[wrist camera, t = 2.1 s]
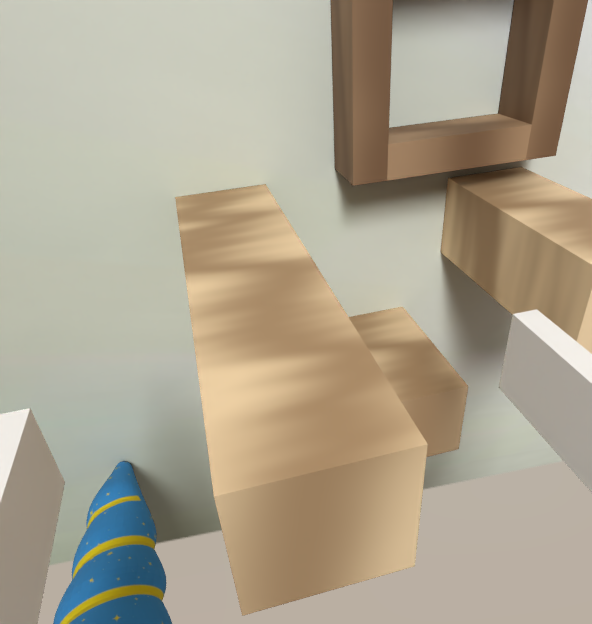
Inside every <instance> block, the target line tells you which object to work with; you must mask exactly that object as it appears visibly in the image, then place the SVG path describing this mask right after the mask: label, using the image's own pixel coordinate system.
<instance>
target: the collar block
mask: <svg viewBox="0 0 592 624" xmlns="http://www.w3.org/2000/svg"><path fill="white" fill-rule="evenodd" d="M587 3H588V0H514V7H513V14H512V21H511V28H510V35H509V42H508V49H507V56H506V63H505V70H504V77H503V84H502V91H501V98H500V105H499V112H498V114H492V115H484V116H476V117H469V118H461V119H453V120H446V121H438V122H430V123H423V124H415V125H407V126H400V127H392V128H389V108H390V76H391V45H392V14H393V0H331V30H332V70H333V111H334V152H335V169H336V170H337V171H338V172H339V173H340V174H341V175H342V176H343V177H344V178H345V179H346V180H348V181H349V182H350V183H351V184H352V185H353V186H355V185H361V184H368V183H375V182H381V181H388V180H395V179H402V178H408V177H415V176H422V175H428V174H435V173H442V172H449V171H455V170H462V169H469V168H475V167H482V166H489V165H495V164H502V163H509V162H516V161H522V160H529V159H536V158H542V157H549V156H556V151H557V146H558V141H559V137H560V132H561V127H562V122H563V118H564V113H565V108H566V103H567V98H568V94H569V89H570V84H571V79H572V75H573V70H574V65H575V60H576V55H577V51H578V46H579V41H580V36H581V32H582V27H583V22H584V17H585V12H586V8H587Z"/></svg>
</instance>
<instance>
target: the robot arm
mask: <svg viewBox="0 0 592 624" xmlns="http://www.w3.org/2000/svg"><path fill="white" fill-rule="evenodd" d="M499 388H500V389H501V391H502V392H503V393H504V394H505V395H506V396H507V397H508V399H509V400H510V401H511V402H512V403H513V404H514V405H515V406H516V408H517V409H518V410H519V411H520V412H521V413H522V414H523V416H524V417H525V418H526V419H527V420H528V421H529V422H530V423H531V425H532V426H533V427H534V428H535V429H536V430H537V431H538V433H539V434H540V435H541V436H542V437H543V438H544V439H545V440H546V442H547V443H548V444H549V445H550V446H551V447H552V448H553V450H554V451H555V452H556V453H557V454H558V455H559V456H560V457H561V459H562V460H563V461H564V462H565V463H566V464H567V465H568V467H569V468H570V469H571V470H572V471H573V472H574V473H575V474H576V476H577V477H578V478H579V479H580V480H581V481H582V482H583V483H584V485H585V486H586V487H587V488H588V489H589V490H590V491H591V492H592V354H591V353H590V352H589V351H588V350H586V349H585V348H584V347H583V346H581V345H580V344H579V343H578V342H576V341H575V340H574V339H573V338H572V337H570V336H569V335H568V334H567V333H565V332H564V331H563V330H562V329H560V328H559V327H558V326H557V325H556V324H554V323H553V322H552V321H551V320H549V319H548V318H547V317H546V316H544V315H543V314H542V313H541V312H539V311H538V310H537V309H536V310H531V311H526V312H521V313H516V314H513V316H512V321H511V326H510V331H509V337H508V342H507V347H506V352H505V357H504V363H503V368H502V373H501V378H500V384H499ZM64 485H65V482H64V479H63V477H62V475H61V473H60V471H59V469H58V467H57V464H56V462H55V460H54V458H53V456H52V454H51V452H50V450H49V447H48V445H47V443H46V441H45V439H44V437H43V435H42V432H41V430H40V428H39V426H38V424H37V422H36V420H35V418H34V415H33V413H32V411H31V409H30V408H29V409H24V410H19V411H14V412H9V413H4V414H0V624H37V623H38V618H39V613H40V608H41V603H42V598H43V593H44V587H45V582H46V577H47V572H48V567H49V562H50V557H51V552H52V546H53V541H54V536H55V531H56V526H57V521H58V516H59V511H60V505H61V500H62V495H63V490H64Z"/></svg>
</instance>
